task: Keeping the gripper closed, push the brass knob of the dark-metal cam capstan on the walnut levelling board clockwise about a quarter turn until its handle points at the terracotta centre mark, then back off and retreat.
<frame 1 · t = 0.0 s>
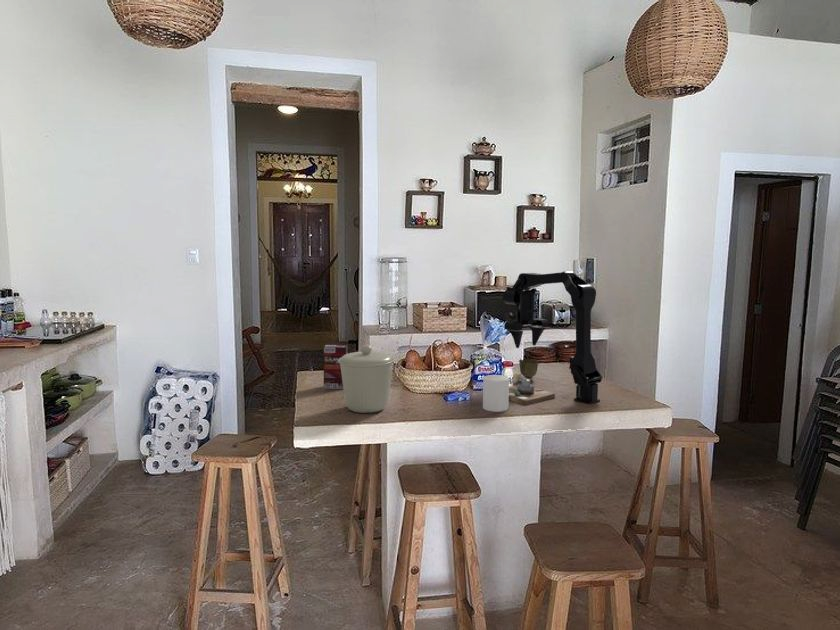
hand: (525, 346, 211), 15 cm above the kitchen island, fingers open, 9 cm apart
cup: (528, 380, 219), on the kitchen island
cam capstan: (522, 382, 196), point 4 cm above the kitchen island, hinge at -25.0°
canister: (366, 409, 180), on the kitchen island
stand: (526, 397, 193), on the kitchen island
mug: (493, 407, 182), on the kitchen island
supplement box: (335, 388, 206), on the kitchen island
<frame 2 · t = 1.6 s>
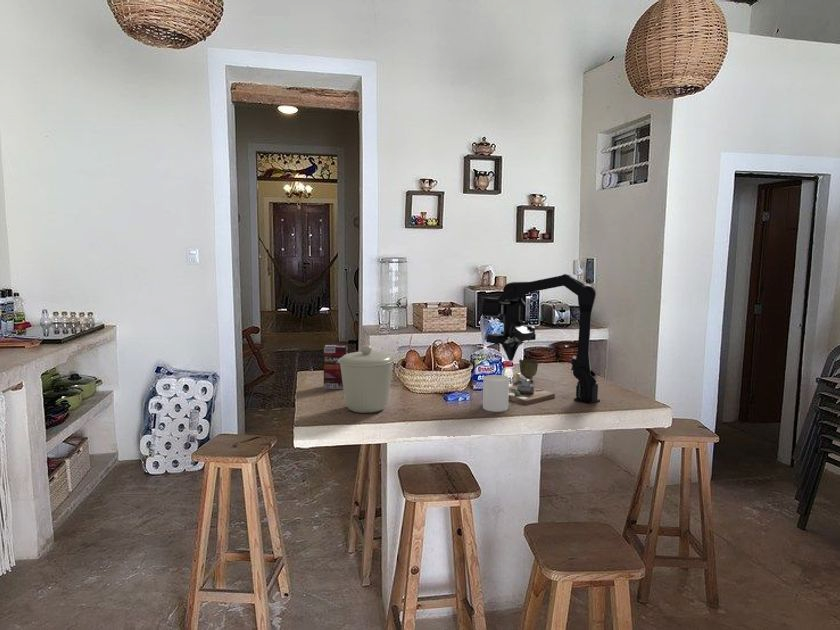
hand: (510, 360, 197), 12 cm above the kitchen island, fingers closed
nothing on the kitchen island moved.
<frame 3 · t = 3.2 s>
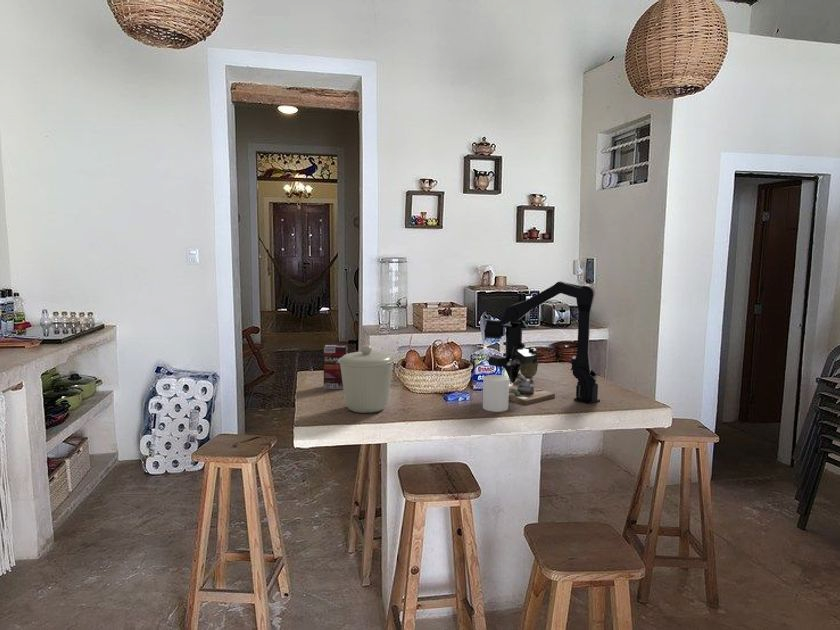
hand: (512, 382, 199), 4 cm above the kitchen island, fingers closed
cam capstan: (522, 382, 196), point 4 cm above the kitchen island, hinge at -25.0°, touching gripper
everything else where it was.
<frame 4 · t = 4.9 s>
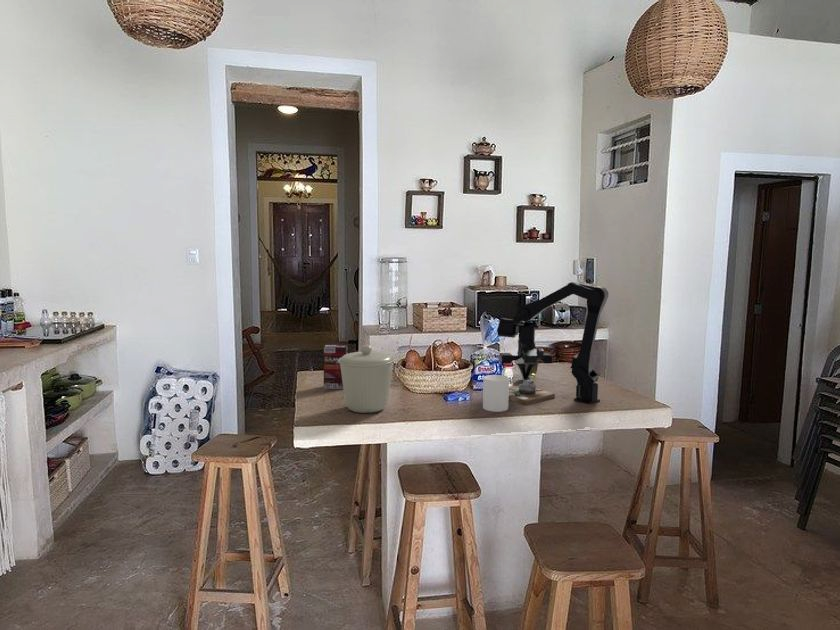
hand: (524, 381, 200), 4 cm above the kitchen island, fingers closed
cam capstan: (529, 383, 196), point 4 cm above the kitchen island, hinge at -62.9°, touching gripper
everything else where it was.
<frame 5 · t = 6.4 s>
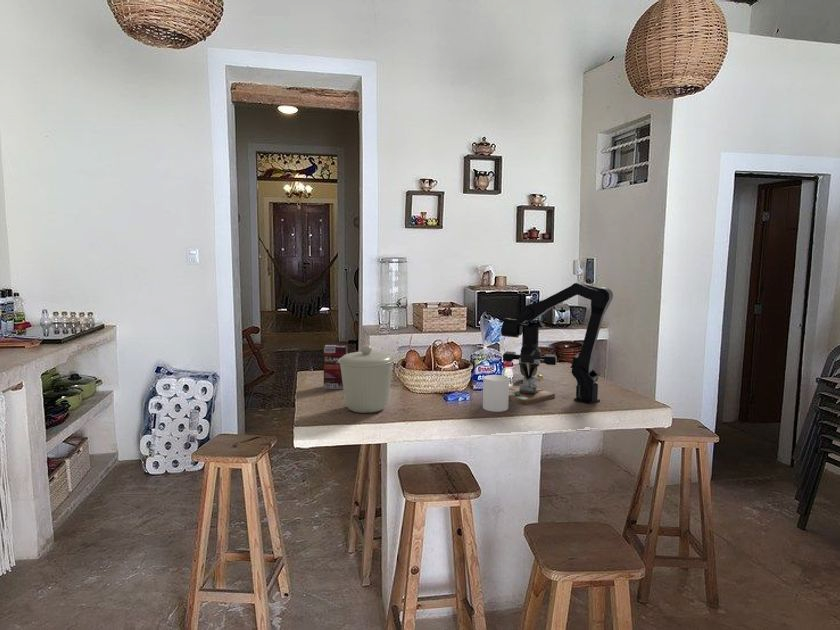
hand: (528, 381, 200), 4 cm above the kitchen island, fingers closed
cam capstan: (532, 383, 195), point 4 cm above the kitchen island, hinge at -84.1°
everything else where it was.
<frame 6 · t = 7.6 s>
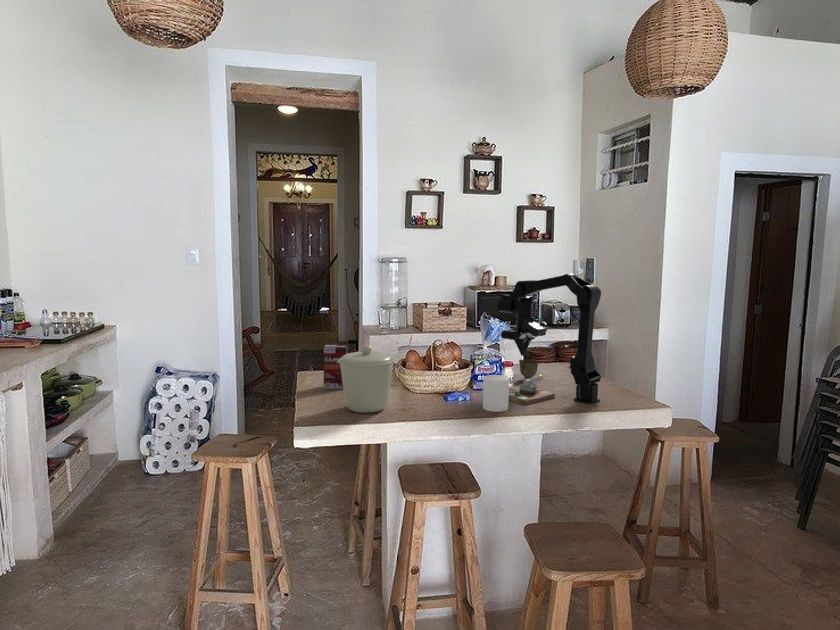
hand: (523, 355, 206), 12 cm above the kitchen island, fingers closed
nothing on the kitchen island moved.
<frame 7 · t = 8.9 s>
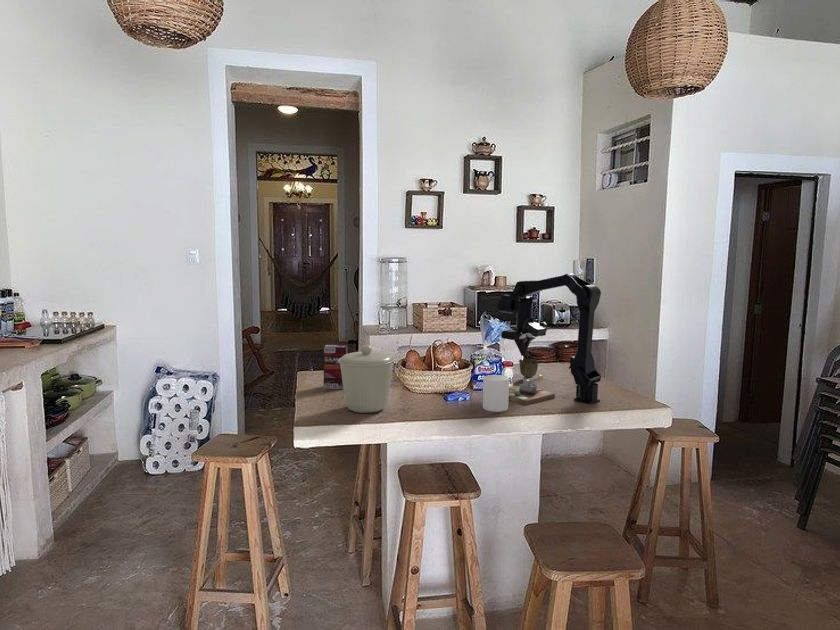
hand: (523, 355, 207), 12 cm above the kitchen island, fingers closed
nothing on the kitchen island moved.
at the end: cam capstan at -84° (first picture: -25°) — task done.
